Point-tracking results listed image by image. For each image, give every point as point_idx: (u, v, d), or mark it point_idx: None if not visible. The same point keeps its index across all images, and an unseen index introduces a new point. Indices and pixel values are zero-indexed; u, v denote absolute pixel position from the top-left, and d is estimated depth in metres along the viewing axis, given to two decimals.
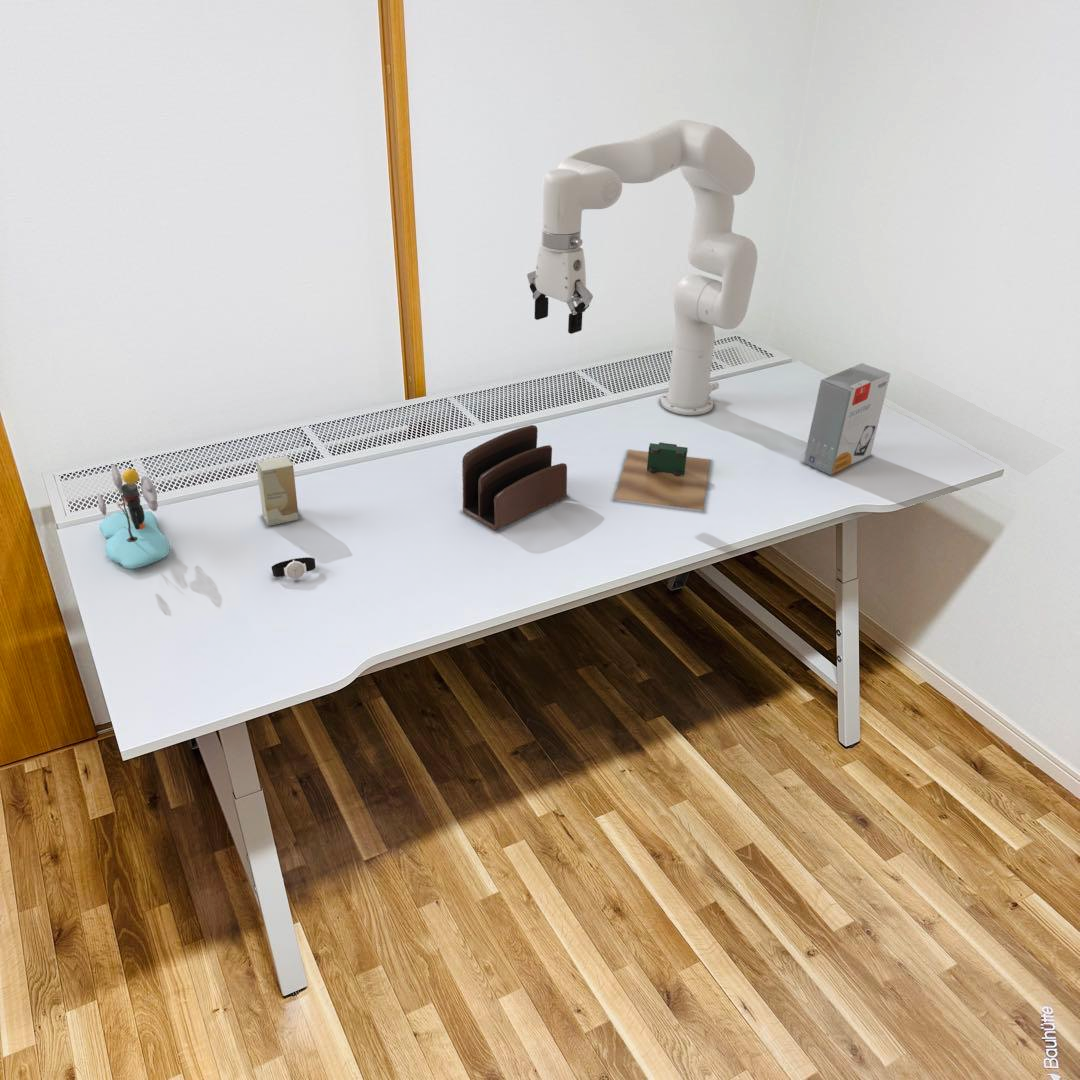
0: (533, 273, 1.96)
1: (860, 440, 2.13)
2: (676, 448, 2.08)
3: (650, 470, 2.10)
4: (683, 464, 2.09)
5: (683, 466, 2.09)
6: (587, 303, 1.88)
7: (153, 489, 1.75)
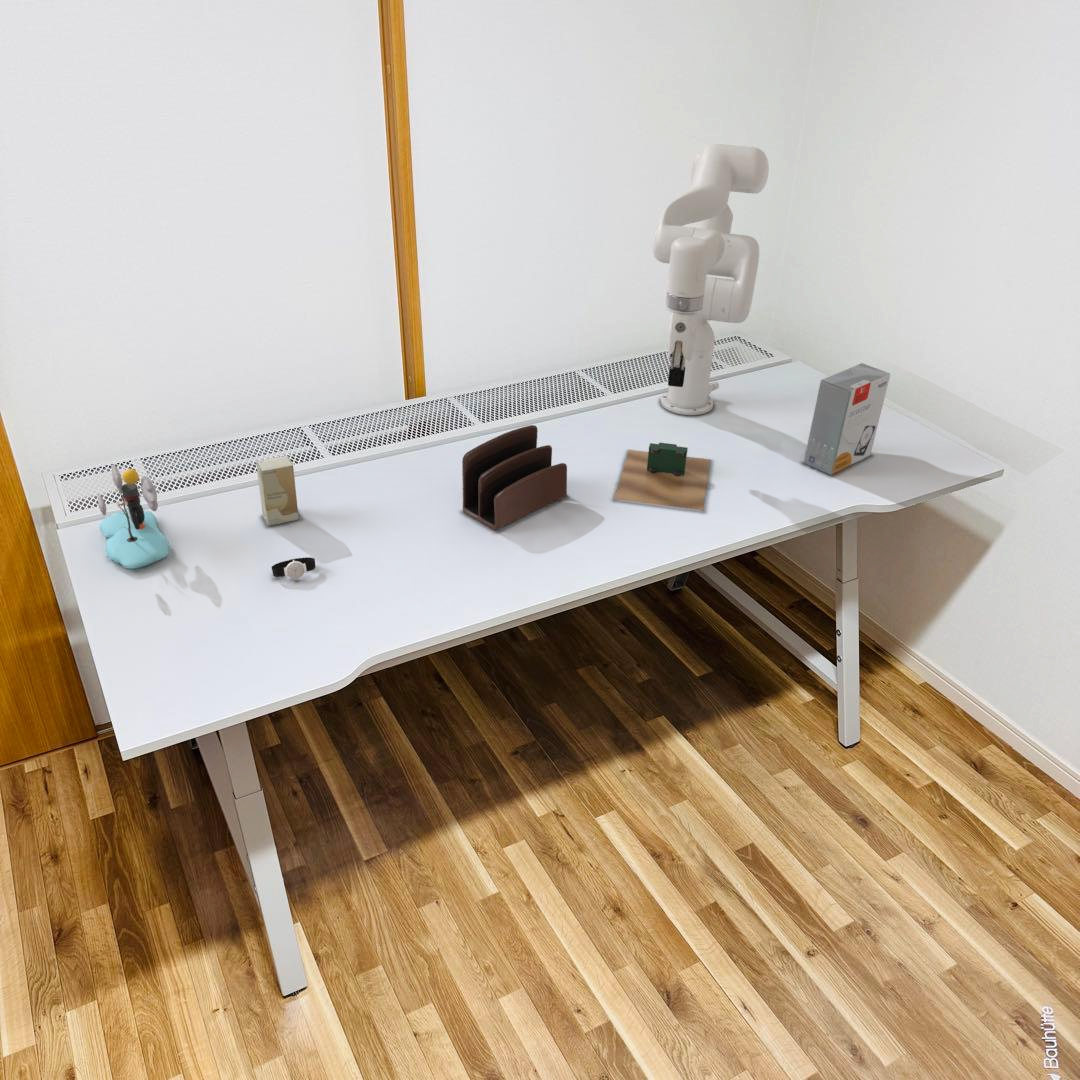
0: None
1: (860, 440, 2.13)
2: (676, 448, 2.08)
3: (650, 470, 2.10)
4: (683, 464, 2.09)
5: (683, 466, 2.09)
6: None
7: (153, 489, 1.75)
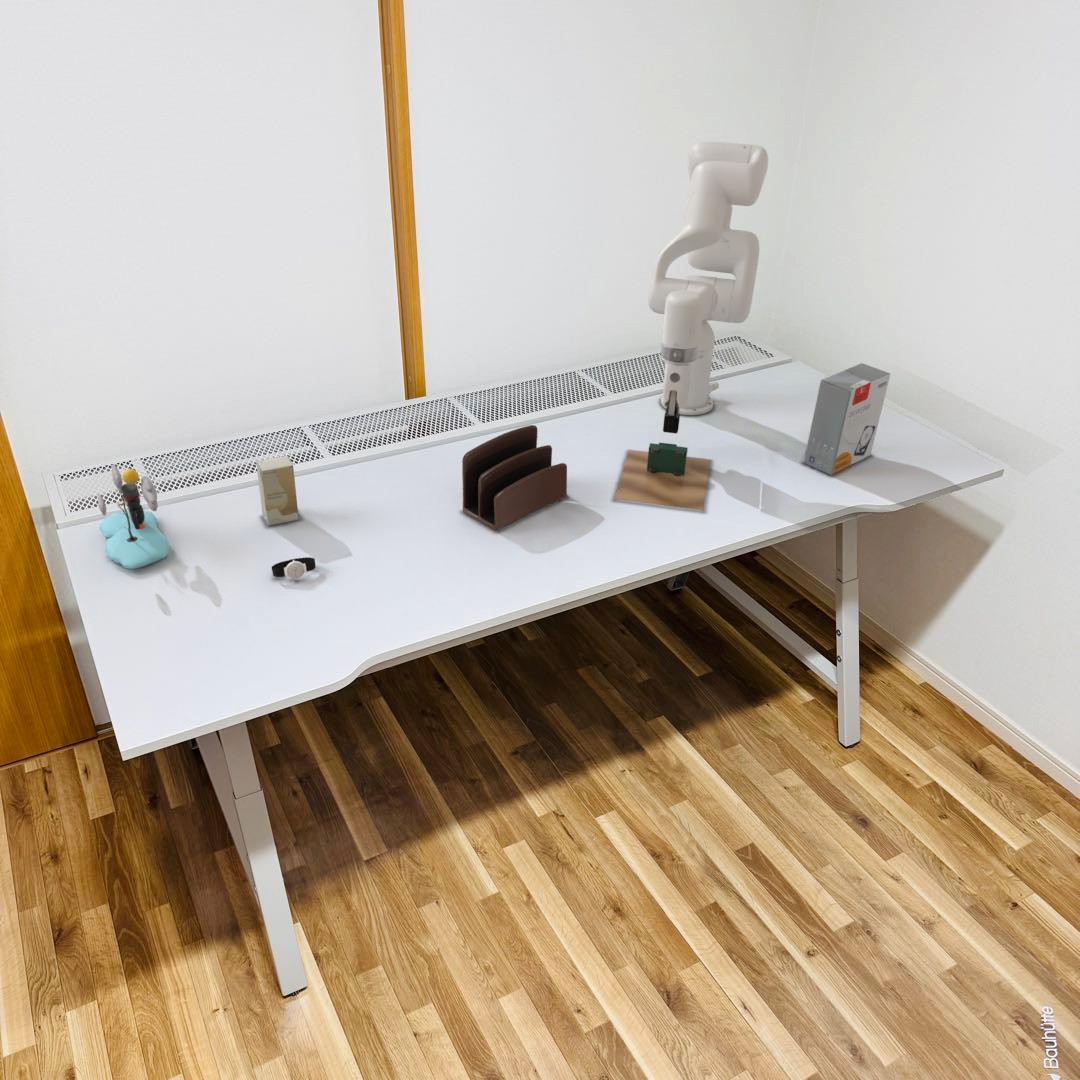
0: None
1: (860, 440, 2.13)
2: (676, 448, 2.08)
3: (650, 470, 2.10)
4: (683, 464, 2.09)
5: (683, 466, 2.09)
6: None
7: (153, 489, 1.75)
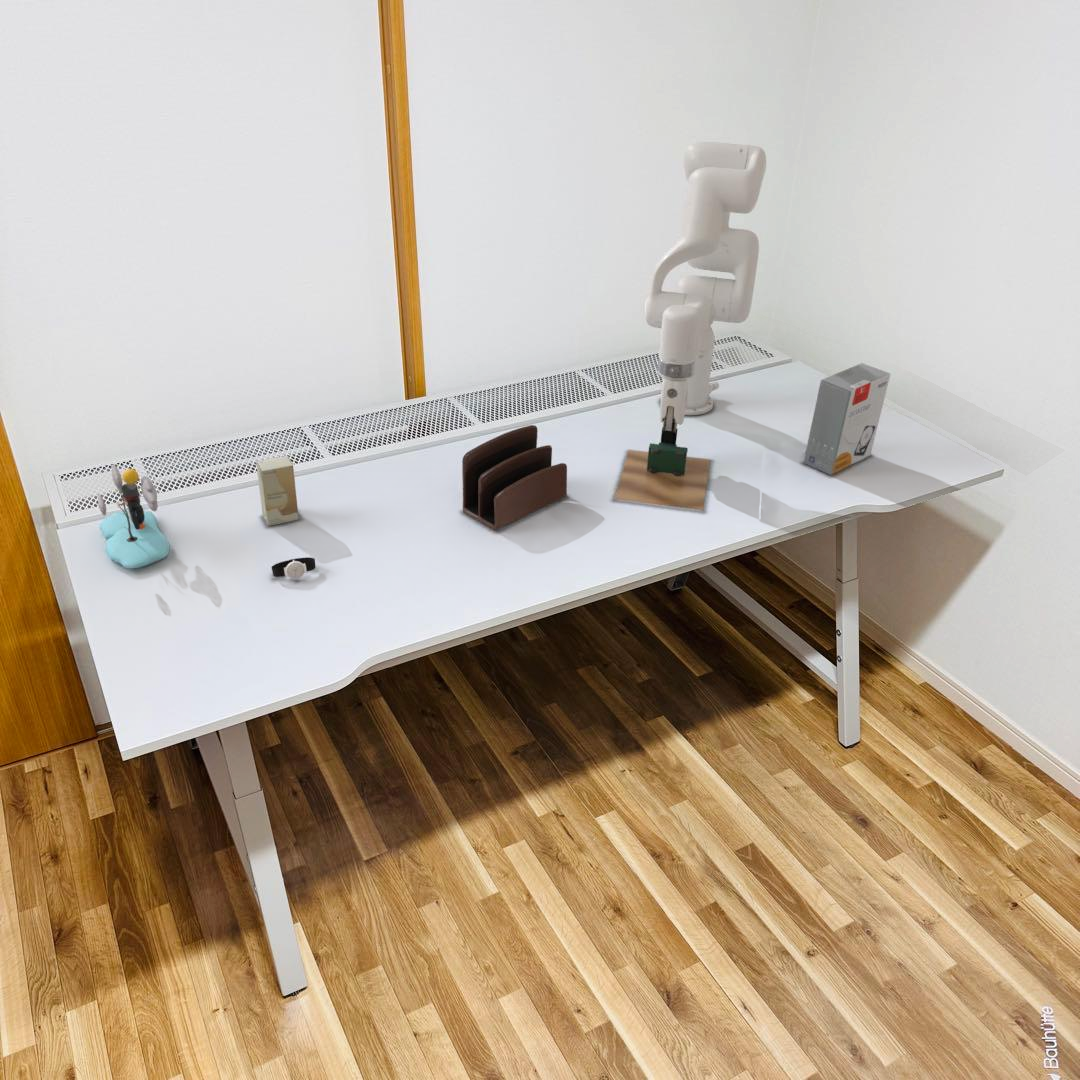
0: None
1: (860, 440, 2.13)
2: (676, 449, 2.08)
3: (650, 470, 2.10)
4: (683, 464, 2.08)
5: (683, 466, 2.09)
6: None
7: (153, 489, 1.75)
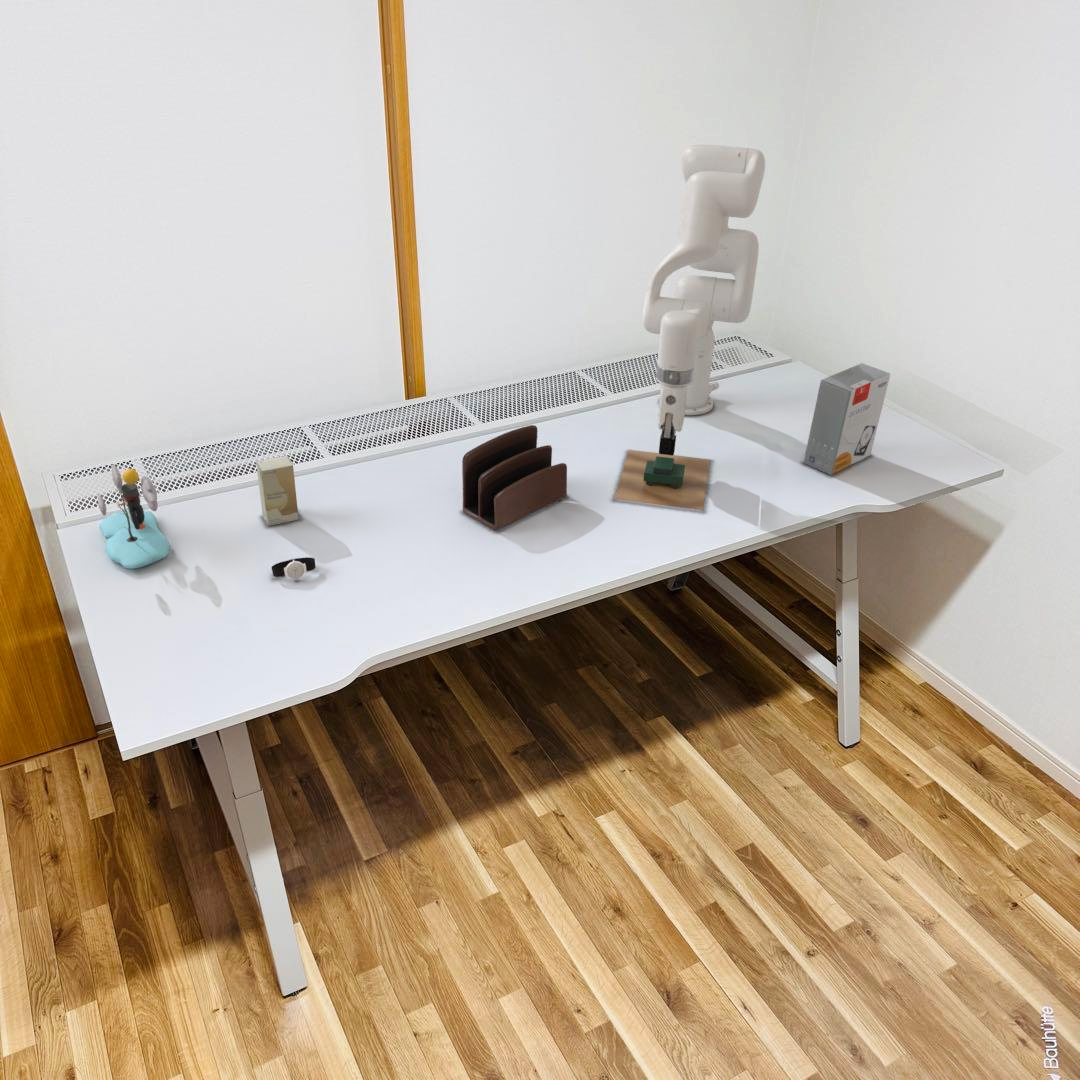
0: None
1: (860, 440, 2.13)
2: (671, 481, 2.04)
3: None
4: None
5: None
6: None
7: (153, 489, 1.75)
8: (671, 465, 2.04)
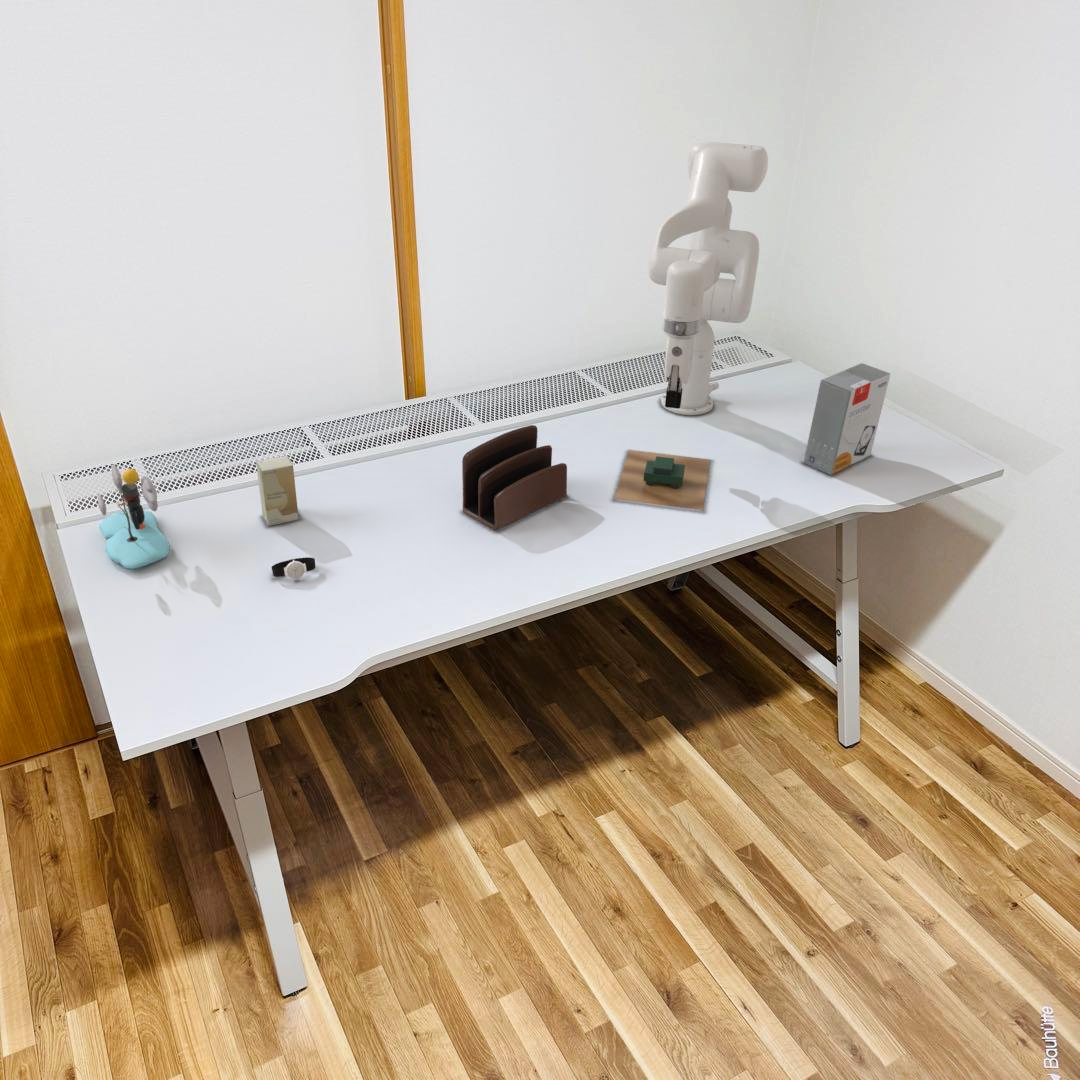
0: None
1: (860, 440, 2.13)
2: (671, 481, 2.04)
3: None
4: None
5: None
6: None
7: (153, 489, 1.75)
8: (671, 465, 2.04)
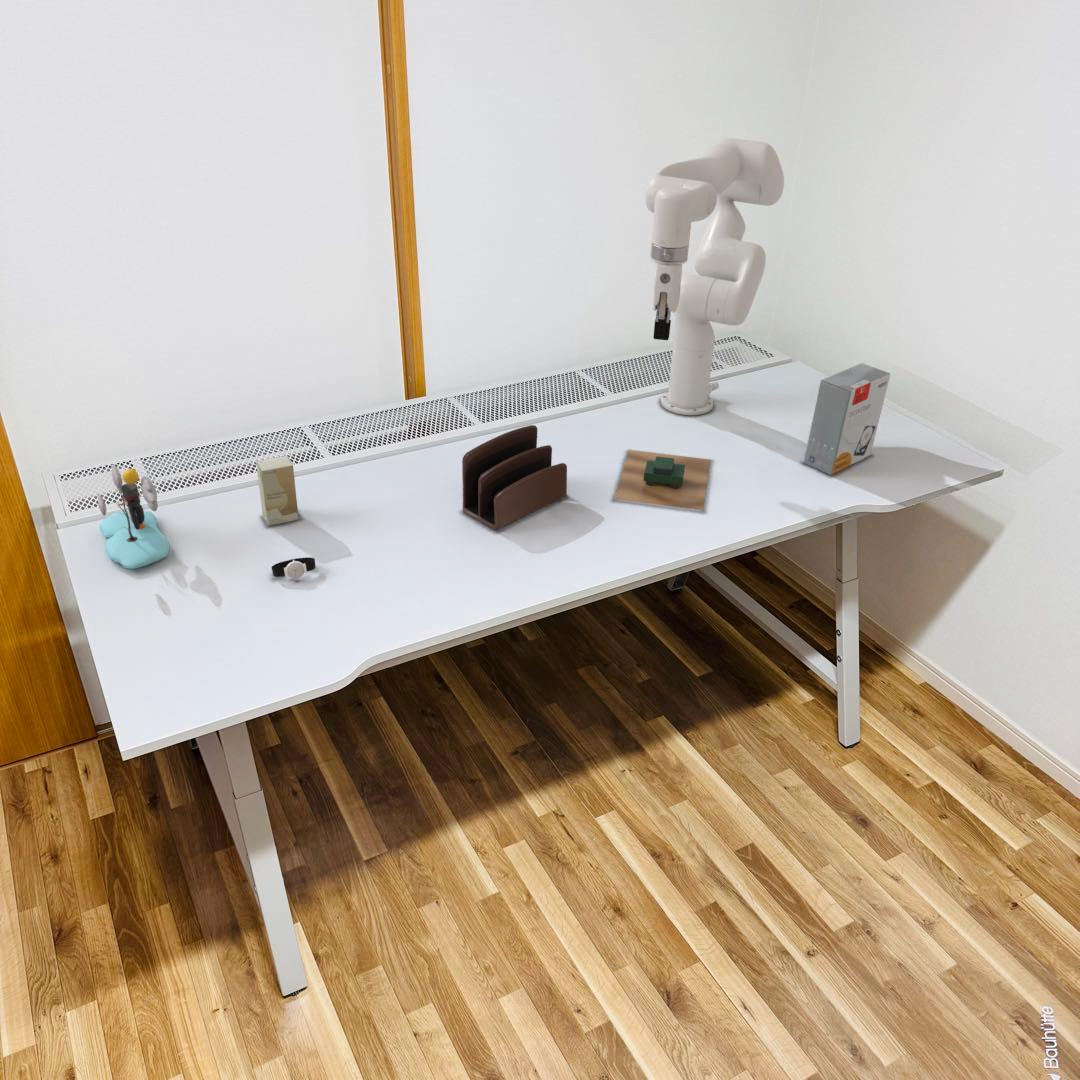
0: None
1: (860, 440, 2.13)
2: (671, 481, 2.04)
3: None
4: None
5: None
6: None
7: (153, 489, 1.75)
8: (671, 465, 2.04)
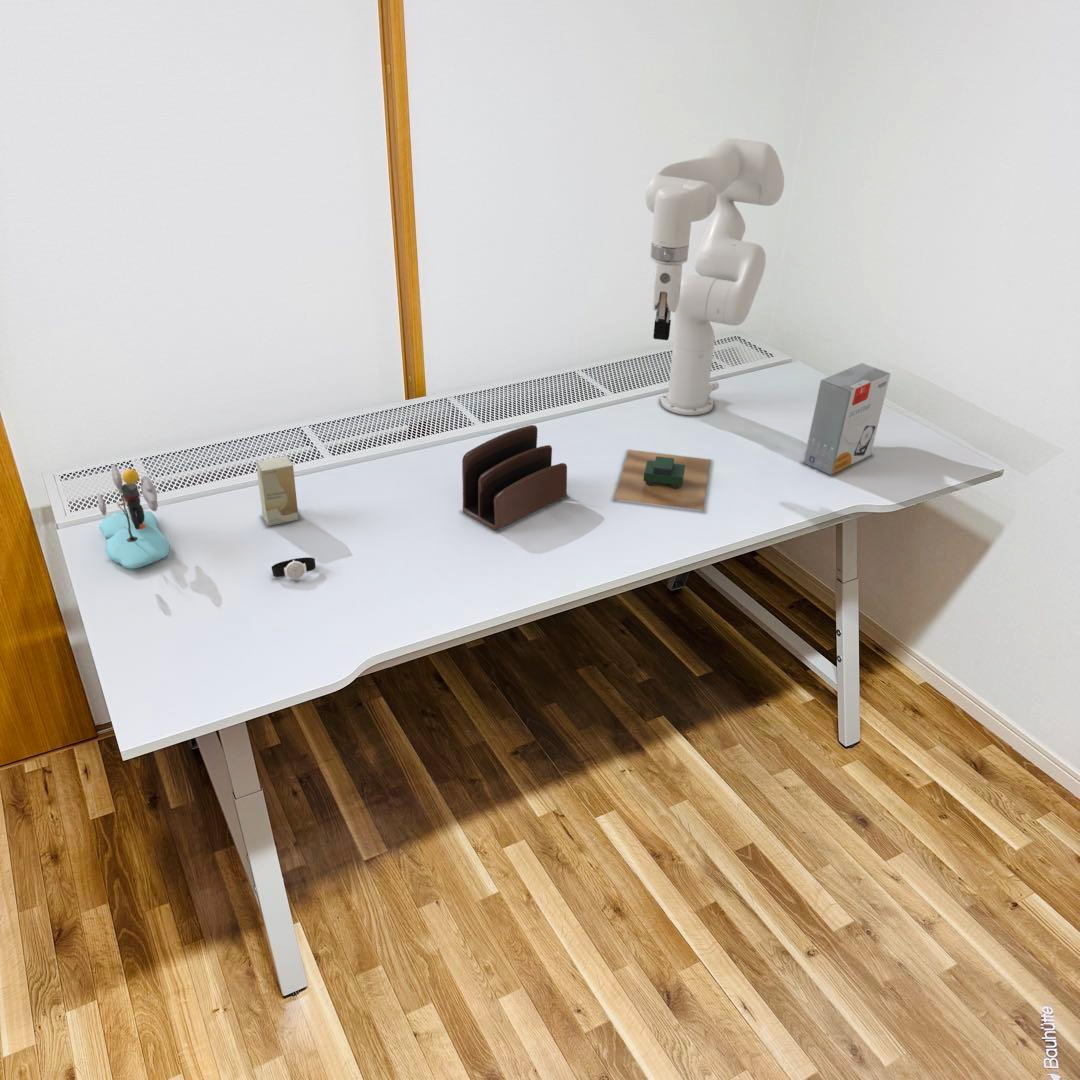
0: None
1: (860, 440, 2.13)
2: (671, 481, 2.04)
3: None
4: None
5: None
6: None
7: (153, 489, 1.75)
8: (671, 465, 2.04)
